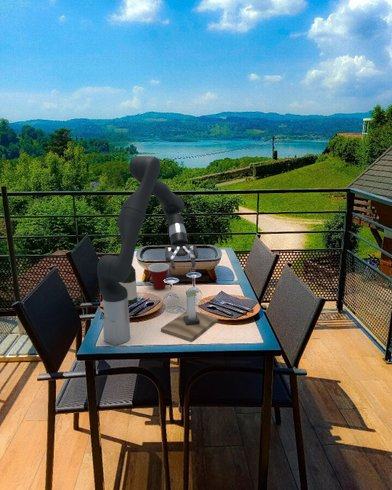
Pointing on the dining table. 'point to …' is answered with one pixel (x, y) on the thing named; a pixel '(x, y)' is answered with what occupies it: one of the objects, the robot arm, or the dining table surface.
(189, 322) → the square capped column
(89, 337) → the dining table surface
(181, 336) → the serving board
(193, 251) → the robot arm
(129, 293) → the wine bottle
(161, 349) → the dining table surface
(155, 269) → the plastic cup
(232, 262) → the dining table surface
